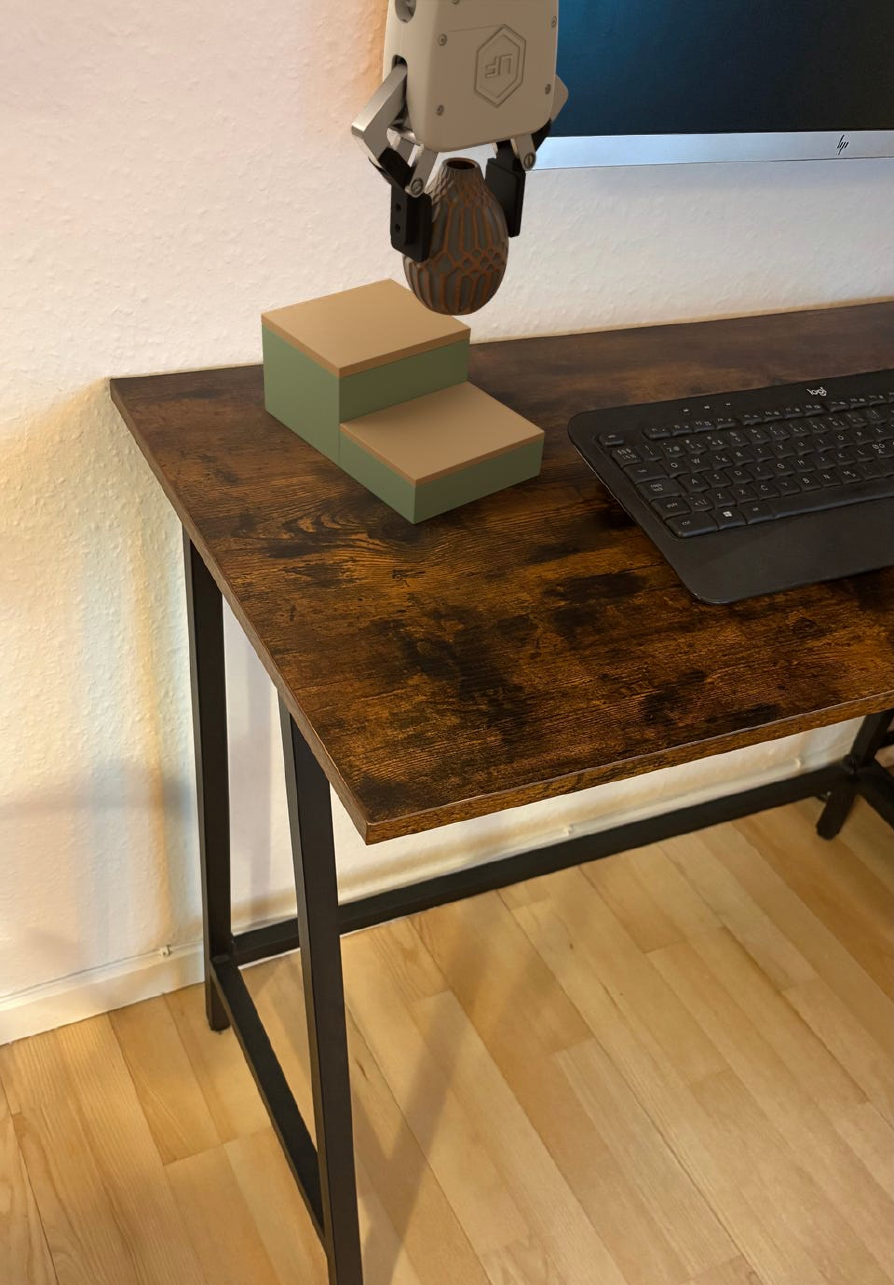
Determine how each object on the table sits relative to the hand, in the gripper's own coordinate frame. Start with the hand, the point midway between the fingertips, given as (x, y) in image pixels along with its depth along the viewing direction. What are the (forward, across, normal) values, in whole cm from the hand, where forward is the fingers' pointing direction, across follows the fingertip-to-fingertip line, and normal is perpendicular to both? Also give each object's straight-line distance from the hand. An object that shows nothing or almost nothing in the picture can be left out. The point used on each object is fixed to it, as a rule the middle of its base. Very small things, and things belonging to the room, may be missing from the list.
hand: (456, 240), depth 79 cm
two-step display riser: (+17, 0, +5) cm, 18 cm away
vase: (+4, 0, 0) cm, 4 cm away
